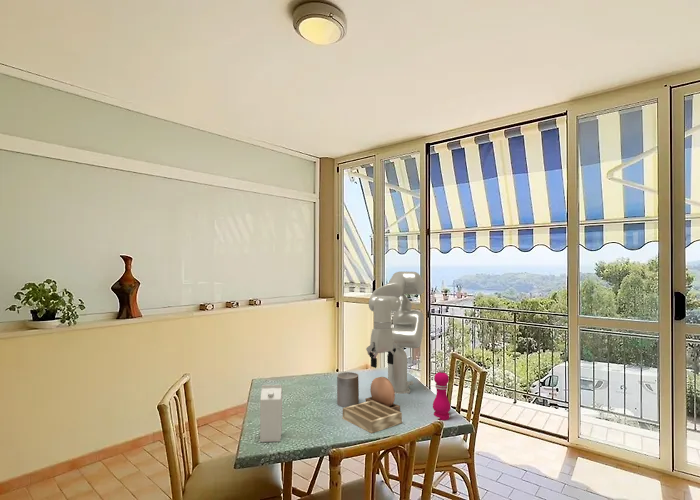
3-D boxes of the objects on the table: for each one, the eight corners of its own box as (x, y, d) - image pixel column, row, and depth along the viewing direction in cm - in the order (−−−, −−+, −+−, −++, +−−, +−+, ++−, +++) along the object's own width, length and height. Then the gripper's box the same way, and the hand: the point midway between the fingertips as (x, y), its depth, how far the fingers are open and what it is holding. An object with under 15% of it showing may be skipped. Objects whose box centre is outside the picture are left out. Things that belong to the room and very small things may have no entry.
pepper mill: (451, 415, 168) (451, 367, 168) (449, 421, 161) (449, 371, 161) (433, 413, 170) (433, 365, 171) (431, 419, 163) (431, 370, 164)
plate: (374, 402, 179) (374, 373, 180) (394, 411, 169) (394, 380, 169) (370, 404, 178) (370, 374, 178) (390, 412, 167) (390, 381, 168)
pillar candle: (354, 401, 184) (354, 368, 185) (361, 408, 175) (361, 374, 175) (334, 403, 181) (334, 370, 182) (340, 411, 172) (340, 376, 172)
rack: (372, 411, 171) (372, 400, 171) (402, 425, 157) (402, 412, 157) (342, 420, 161) (342, 408, 161) (371, 436, 147) (371, 422, 147)
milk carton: (262, 433, 148) (263, 382, 149) (281, 433, 149) (282, 382, 150) (259, 442, 141) (260, 388, 142) (280, 441, 142) (280, 387, 143)
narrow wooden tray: (375, 403, 181) (375, 395, 182) (400, 414, 169) (400, 405, 169) (365, 406, 178) (365, 398, 178) (390, 417, 165) (390, 408, 165)
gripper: (390, 323, 183) (390, 361, 182) (361, 326, 172) (361, 366, 171) (402, 325, 177) (402, 364, 176) (373, 328, 166) (372, 370, 165)
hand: (382, 365), depth 174 cm, fingers open, 9 cm apart
